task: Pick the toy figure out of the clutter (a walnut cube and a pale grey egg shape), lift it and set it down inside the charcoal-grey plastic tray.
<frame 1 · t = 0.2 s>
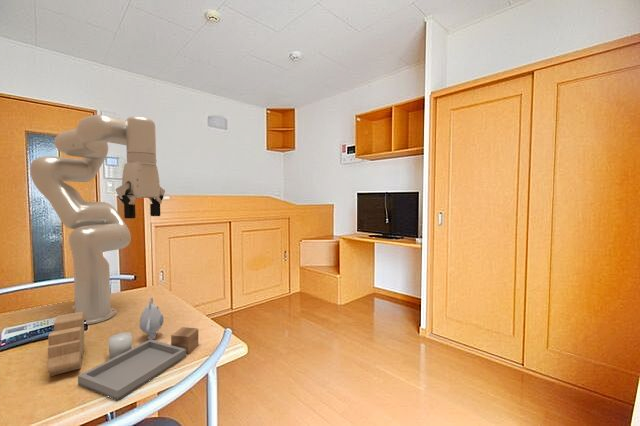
hand: (143, 217, 89), 36 cm above the table, tool pointing down, fingers open, 9 cm apart
pale grey egg shape: (120, 355, 78), on the table
toy figure: (151, 338, 88), on the table
walnut cube: (185, 349, 82), on the table
tray: (136, 369, 72), on the table
stepped wooden block: (68, 362, 74), on the table
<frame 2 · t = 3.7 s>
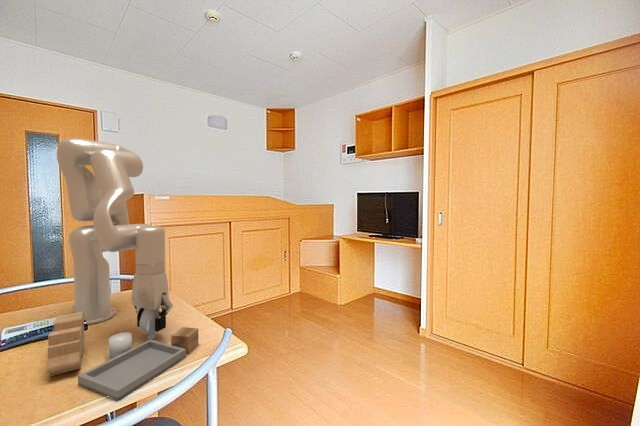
hand: (151, 327, 87), 3 cm above the table, tool pointing down, fingers closed on toy figure, 6 cm apart
toy figure: (151, 338, 88), on the table, touching gripper
everything else where it was.
when the fingers open (5 cm above the table, at t = 8.8 s): toy figure drops 1 cm, resting on tray.
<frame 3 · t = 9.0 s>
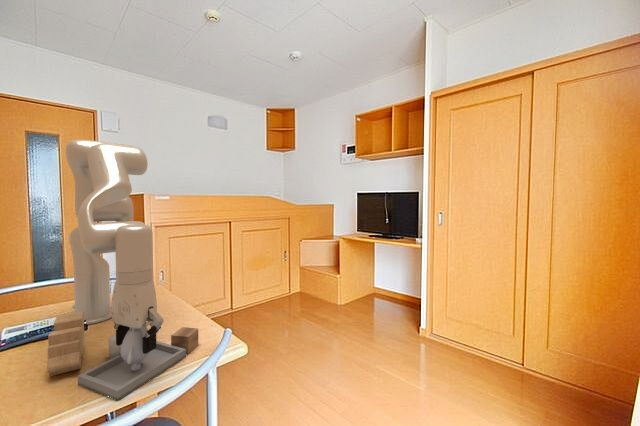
hand: (136, 346, 71), 6 cm above the table, tool pointing down, fingers open, 8 cm apart
toy figure: (136, 367, 72), resting on tray
everything else where it was.
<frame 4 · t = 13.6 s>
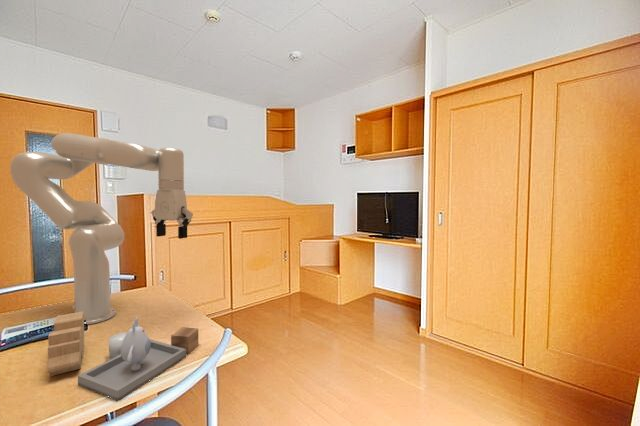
hand: (171, 237, 99), 28 cm above the table, tool pointing down, fingers open, 9 cm apart
nothing on the table moved.
at the end: toy figure inside the target area on the tray (0.3 cm from its centre), point 0.4 cm above the tray's base; the gripper is holding nothing; pale grey egg shape moved 0.1 cm from its start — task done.
